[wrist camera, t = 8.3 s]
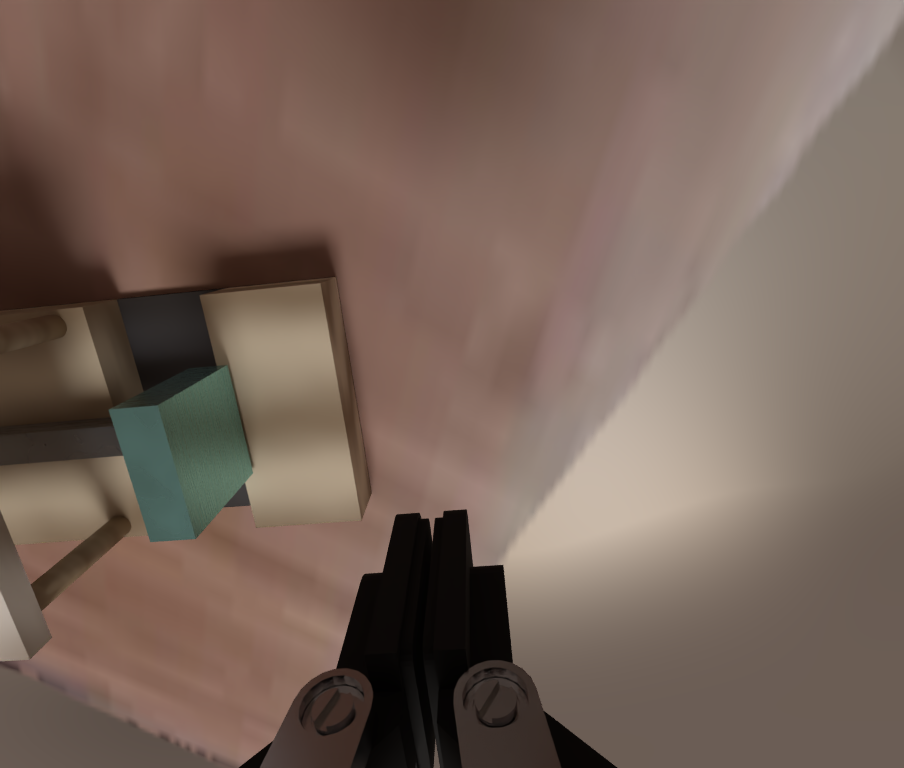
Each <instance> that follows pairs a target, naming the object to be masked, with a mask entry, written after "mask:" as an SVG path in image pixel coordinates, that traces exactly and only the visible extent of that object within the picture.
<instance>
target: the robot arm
mask: <svg viewBox="0 0 904 768" xmlns="http://www.w3.org/2000/svg"><path fill="white" fill-rule="evenodd" d="M435 738H436V744H437V751H438V757H439V763H440V768H617V767H616V766H614V765H613V764H612V763H610V762H609V761H608V760H607V759H605V758H604V757H603V756H601V755H600V754H599V753H597V752H596V751H595V750H594V749H592V748H591V747H590V746H589V745H587V744H586V743H584V742H583V741H582V740H581V739H579V738H578V737H577V736H576V735H574V734H573V733H572V732H570V731H569V730H568V729H567V728H565V727H564V726H563V725H562V724H560V723H559V722H558V721H556V720H555V719H554V718H552V717H551V716H550V715H548V714H547V713H546V712H545V711H543V708H542V704H541V701H540V698H539V695H538V692H537V688H536V686H535V684H534V682H533V680H532V678H531V677H530V676H529V675H528V674H527V673H526V672H525V671H524V670H523V669H522V668H520V667H518V666H517V665H515V664H513V660H512V650H511V639H510V629H509V619H508V609H507V598H506V588H505V578H504V568H503V565H494V566H479V567H473V561H472V552H471V542H470V533H469V524H468V515H467V510H453V511H444V513H443V517H442V518H435V524H434V533H433V543H432V536H431V529H430V522H429V519H421V516H420V513H411V514H397V515H396V517H395V521H394V525H393V530H392V534H391V538H390V543H389V547H388V552H387V556H386V560H385V565H384V569H383V573H371V574H364V575H363V577H362V579H361V582H360V586H359V589H358V593H357V596H356V600H355V604H354V607H353V611H352V614H351V618H350V622H349V625H348V629H347V632H346V636H345V639H344V643H343V647H342V650H341V654H340V657H339V661H338V665H337V668H336V669H333V670H330V671H327V672H324V673H322V674H320V675H318V676H317V677H315V678H313V679H312V680H310V681H309V682H308V683H307V684H306V685H305V686H304V687H303V688H302V689H301V690H300V692H299V693H298V695H297V696H296V698H295V699H294V701H293V703H292V705H291V707H290V709H289V711H288V713H287V715H286V717H285V719H284V721H283V723H282V725H281V727H280V729H279V731H278V733H277V734H276V736H275V738H274V740H273V741H272V742H271V743H270V744H268V745H267V746H266V747H265V748H263V749H262V750H261V751H260V752H258V753H257V754H256V755H254V756H253V757H252V758H251V759H249V760H248V761H247V762H245V763H244V764H243V765H242V766H240V767H239V768H433V767H434V752H435V751H434V750H435Z"/></svg>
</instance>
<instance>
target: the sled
mask: <svg viewBox="0 0 904 768" xmlns="http://www.w3.org/2000/svg"><path fill="white" fill-rule="evenodd" d="M109 413H110V416H111V417H106V418H95V419H83V420H71V421H60V422H48V423H37V424H25V425H13V426H2V427H0V466H3V465H15V464H27V463H40V462H52V461H64V460H77V459H89V458H101V457H114V456H123V457H124V460H125V463H126V466H127V470H128V473H129V476H130V479H131V482H132V485H133V489H134V492H135V495H136V498H137V501H138V504H139V508H140V511H141V514H142V517H143V520H144V523H145V527H146V530H147V533H148V536H149V539H150V542H158V541H172V540H187V539H196V538H197V537H198V536H199V535H200V533H201V532H202V531H203V530H204V529H205V528H206V527H207V525H208V524H209V523H210V522H211V521H212V520H213V519H214V517H215V516H216V515H217V514H218V513H219V512H220V511H221V509H222V508H223V507H224V506H225V505H226V504H227V503H228V501H229V500H230V499H231V498H232V497H233V496H234V495H235V493H236V492H237V491H238V490H239V489H240V488H241V486H242V485H243V484H244V483H245V482H246V481H247V480H248V478H249V477H250V476H251V475H252V474H253V470H252V466H251V462H250V457H249V453H248V449H247V445H246V441H245V436H244V432H243V428H242V424H241V420H240V415H239V411H238V407H237V403H236V399H235V394H234V390H233V386H232V382H231V377H230V373H229V369H228V365H221V366H210V367H199V368H189V369H187V370H185V371H183V372H181V373H179V374H177V375H175V376H173V377H171V378H169V379H167V380H165V381H163V382H161V383H160V384H158V385H156V386H154V387H152V388H150V389H148V390H146V391H144V392H142V393H140V394H138V395H136V396H134V397H132V398H130V399H128V400H126V401H124V402H122V403H121V404H119V405H117V406H115V407H113V408H111V409H109Z"/></svg>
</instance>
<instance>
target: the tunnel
mask: <svg viewBox="0 0 904 768" xmlns="http://www.w3.org/2000/svg"><path fill="white" fill-rule="evenodd" d="M221 365H228V369H229V373H230V377H231V382H232V386H233V390H234V394H235V399H236V403H237V407H238V411H239V415H240V420H241V424H242V428H243V432H244V436H245V441H246V445H247V449H248V453H249V457H250V462H251V466H252V470H253V474H252V475H251V476H250V477H249V478H248V480H247V481H246V482H245V483H244V484H243V485H242V486H241V488H240V489H239V490H238V491H237V492H236V493H235V495H234V496H233V497H232V498H231V499H230V500H229V501H228V503H227V504H226V505H225V506H224V507H235V506H249V505H251V509H252V513H253V517H254V521H255V525H256V528H261V527H275V526H289V525H303V524H318V523H332V522H346V521H360V520H362V518H363V515H364V512H365V510H366V507H367V504H368V502H369V499H370V496H371V487H370V481H369V475H368V469H367V463H366V456H365V450H364V444H363V438H362V432H361V426H360V420H359V414H358V408H357V402H356V396H355V390H354V384H353V378H352V371H351V365H350V359H349V353H348V347H347V341H346V335H345V329H344V323H343V317H342V311H341V305H340V299H339V293H338V287H337V280H336V277H331V278H321V279H311V280H301V281H291V282H282V283H272V284H262V285H252V286H242V287H232V288H222V289H212V290H202V291H192V292H182V293H173V294H163V295H153V296H143V297H133V298H123V299H113V300H103V301H93V302H83V303H73V304H64V305H54V306H44V307H34V308H24V309H14V310H4V311H0V427H2V426H13V425H25V424H37V423H48V422H60V421H71V420H83V419H95V418H106V417H111V416H110V413H109V409H111V408H113V407H115V406H117V405H119V404H121V403H122V402H124V401H126V400H128V399H130V398H132V397H134V396H136V395H138V394H140V393H142V392H144V391H146V390H148V389H150V388H152V387H154V386H156V385H158V384H160V383H161V382H163V381H165V380H167V379H169V378H171V377H173V376H175V375H177V374H179V373H181V372H183V371H185V370H187V369H189V368H199V367H210V366H221ZM133 536H148V533H147V530H146V527H145V523H144V520H143V517H142V514H141V511H140V508H139V504H138V501H137V498H136V495H135V492H134V489H133V485H132V482H131V479H130V476H129V473H128V470H127V466H126V463H125V460H124V457H123V456H114V457H101V458H89V459H77V460H64V461H52V462H40V463H27V464H15V465H3V466H0V661H13V660H30V659H31V658H32V657H33V656H34V655H35V654H36V653H37V652H38V651H39V650H40V649H41V648H42V647H43V646H44V645H45V644H46V643H47V642H48V641H49V640H50V639H51V638H52V636H51V634H50V631H49V629H48V626H47V624H46V621H45V619H44V616H43V614H42V610H43V609H44V608H45V607H47V606H48V605H49V604H50V603H51V602H52V601H53V600H54V599H55V598H57V597H58V596H59V595H60V594H61V593H62V592H63V591H64V590H65V589H66V588H68V587H69V586H70V585H71V584H72V583H73V582H74V581H75V580H76V579H78V578H79V577H80V576H81V575H82V574H83V573H84V572H85V571H86V570H88V569H89V568H90V567H91V566H92V565H93V564H94V563H95V562H96V561H98V560H99V559H100V558H101V557H102V556H103V555H104V554H105V553H106V552H108V551H109V550H110V549H111V548H112V547H113V546H114V545H115V544H116V543H117V542H119V541H120V540H121V539H122V538H123V537H133ZM77 540H85V541H83V542H82V543H81V544H80V545H79V546H77V547H76V548H75V549H74V550H72V551H71V552H70V553H69V554H68V555H66V556H65V557H64V558H63V559H61V560H60V561H59V562H58V563H57V564H55V565H54V566H53V567H52V568H51V569H49V570H48V571H47V572H46V573H44V574H43V575H42V576H41V577H40V578H38V579H37V580H36V581H35V582H33V583H32V584H30V582H29V579H28V577H27V575H26V572H25V570H24V567H23V565H22V562H21V560H20V557H19V555H18V552H17V550H16V548H15V545H20V544H34V543H48V542H62V541H77Z"/></svg>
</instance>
